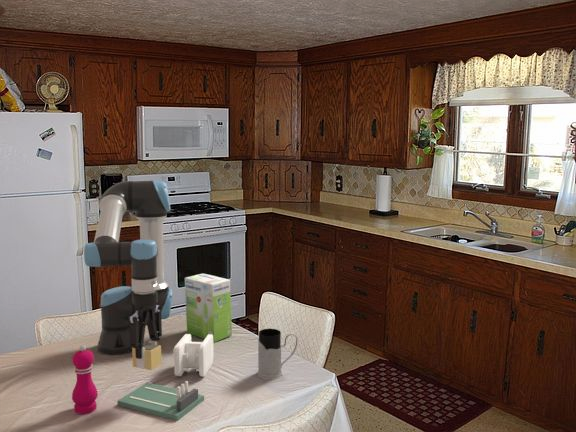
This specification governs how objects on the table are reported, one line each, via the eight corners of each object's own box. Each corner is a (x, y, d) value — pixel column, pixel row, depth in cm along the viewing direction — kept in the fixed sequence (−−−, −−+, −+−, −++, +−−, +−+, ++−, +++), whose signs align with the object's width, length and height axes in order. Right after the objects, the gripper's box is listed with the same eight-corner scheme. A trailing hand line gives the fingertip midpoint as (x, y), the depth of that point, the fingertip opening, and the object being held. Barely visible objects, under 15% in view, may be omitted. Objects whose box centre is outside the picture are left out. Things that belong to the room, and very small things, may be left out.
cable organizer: (203, 381, 186) (203, 348, 184) (172, 379, 187) (172, 346, 185) (214, 363, 201) (213, 332, 199) (185, 362, 202) (185, 331, 200)
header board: (117, 405, 169) (116, 382, 168) (147, 386, 181) (146, 365, 180) (177, 420, 160) (176, 396, 159) (204, 400, 172) (203, 377, 171)
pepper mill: (76, 404, 169) (73, 341, 167) (100, 403, 170) (98, 340, 167) (69, 415, 162) (66, 350, 159) (94, 414, 163) (91, 349, 160)
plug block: (133, 366, 170) (132, 346, 169) (143, 360, 175) (142, 341, 174) (151, 370, 167) (150, 350, 166) (161, 364, 172) (161, 344, 171)
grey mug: (254, 369, 195) (254, 329, 193) (293, 366, 199) (294, 325, 197) (259, 380, 187) (259, 337, 185) (300, 376, 190) (300, 334, 188)
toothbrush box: (185, 333, 232) (184, 276, 228) (204, 326, 239) (203, 272, 236) (213, 343, 220) (212, 284, 217) (232, 336, 228) (231, 279, 224)
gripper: (135, 300, 158) (137, 377, 161) (172, 285, 174) (174, 356, 177) (114, 296, 161) (117, 373, 164) (153, 282, 177) (155, 352, 181)
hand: (147, 364), depth 171 cm, fingers closed on plug block, 5 cm apart
